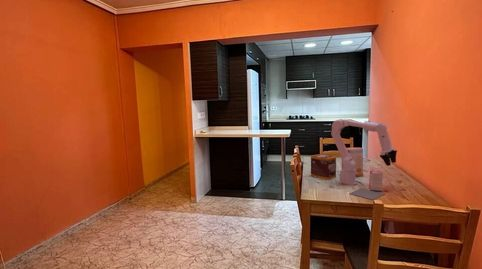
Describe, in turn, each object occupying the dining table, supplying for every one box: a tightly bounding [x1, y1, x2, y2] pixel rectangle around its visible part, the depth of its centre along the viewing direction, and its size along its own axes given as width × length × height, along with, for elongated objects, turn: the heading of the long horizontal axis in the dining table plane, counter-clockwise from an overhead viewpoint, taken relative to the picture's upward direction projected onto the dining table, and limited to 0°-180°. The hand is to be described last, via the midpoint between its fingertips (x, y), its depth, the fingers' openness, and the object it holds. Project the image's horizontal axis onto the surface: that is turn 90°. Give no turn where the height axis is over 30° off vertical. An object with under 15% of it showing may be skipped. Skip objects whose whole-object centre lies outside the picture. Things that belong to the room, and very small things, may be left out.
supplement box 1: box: [310, 153, 337, 181], centre depth 189 cm, size 10×15×16 cm
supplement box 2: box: [368, 170, 384, 192], centre depth 155 cm, size 6×6×12 cm
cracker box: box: [341, 147, 364, 177], centre depth 189 cm, size 14×6×21 cm, turn 84°
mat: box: [349, 188, 386, 201], centre depth 149 cm, size 14×14×1 cm
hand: (391, 164), depth 156 cm, fingers open, 7 cm apart
